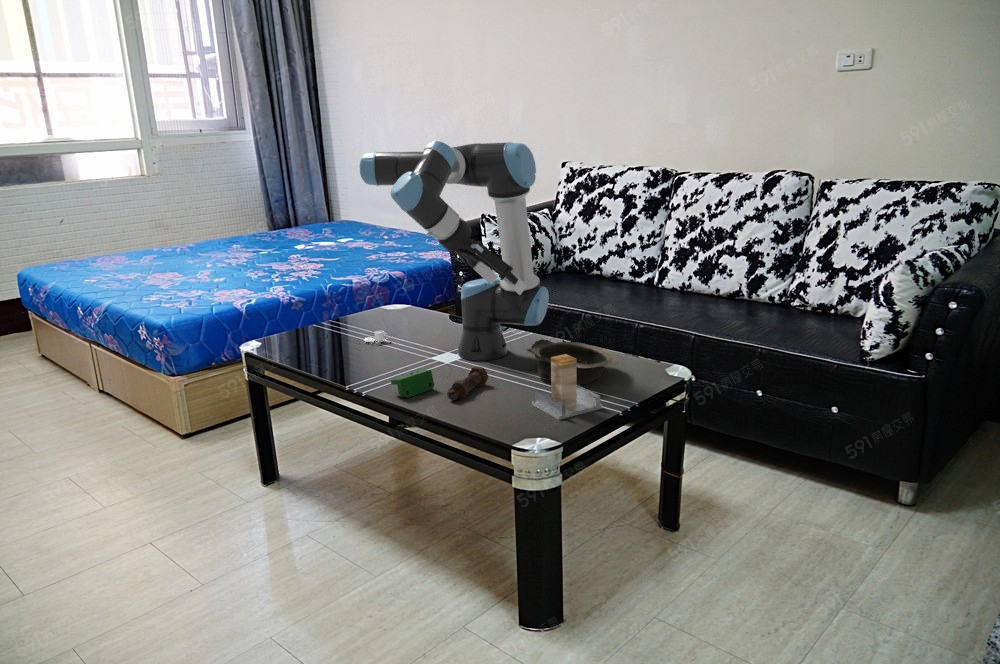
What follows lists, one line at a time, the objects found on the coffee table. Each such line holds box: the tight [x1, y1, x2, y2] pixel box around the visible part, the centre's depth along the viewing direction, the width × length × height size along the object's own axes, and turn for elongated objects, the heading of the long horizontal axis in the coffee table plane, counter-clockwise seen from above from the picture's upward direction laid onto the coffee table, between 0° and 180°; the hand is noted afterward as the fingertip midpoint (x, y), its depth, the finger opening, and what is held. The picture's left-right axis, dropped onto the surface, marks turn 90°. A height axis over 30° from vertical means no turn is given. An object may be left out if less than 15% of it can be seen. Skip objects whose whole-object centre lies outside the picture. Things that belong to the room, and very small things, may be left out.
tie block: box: [550, 354, 577, 407], centre depth 186 cm, size 4×4×12 cm
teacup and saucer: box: [363, 330, 388, 343], centre depth 248 cm, size 9×8×4 cm
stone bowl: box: [525, 338, 618, 386], centre depth 209 cm, size 25×25×9 cm
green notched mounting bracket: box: [390, 369, 435, 399], centre depth 202 cm, size 11×6×8 cm, turn 128°
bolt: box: [446, 366, 489, 401], centre depth 200 cm, size 6×5×15 cm
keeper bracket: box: [531, 385, 603, 421], centre depth 188 cm, size 12×13×4 cm
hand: (508, 285), depth 180 cm, fingers open, 13 cm apart
